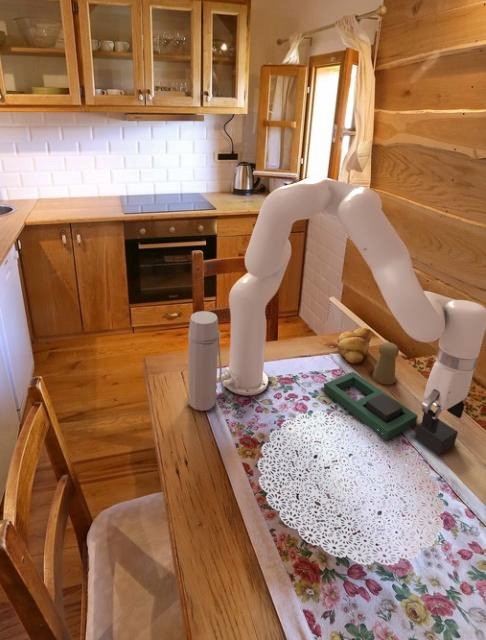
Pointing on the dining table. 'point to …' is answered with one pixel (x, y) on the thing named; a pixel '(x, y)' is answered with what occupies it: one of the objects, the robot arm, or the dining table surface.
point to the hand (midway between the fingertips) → (441, 421)
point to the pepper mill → (386, 363)
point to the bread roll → (354, 344)
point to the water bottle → (203, 360)
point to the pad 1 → (384, 408)
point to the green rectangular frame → (359, 406)
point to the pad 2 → (437, 437)
